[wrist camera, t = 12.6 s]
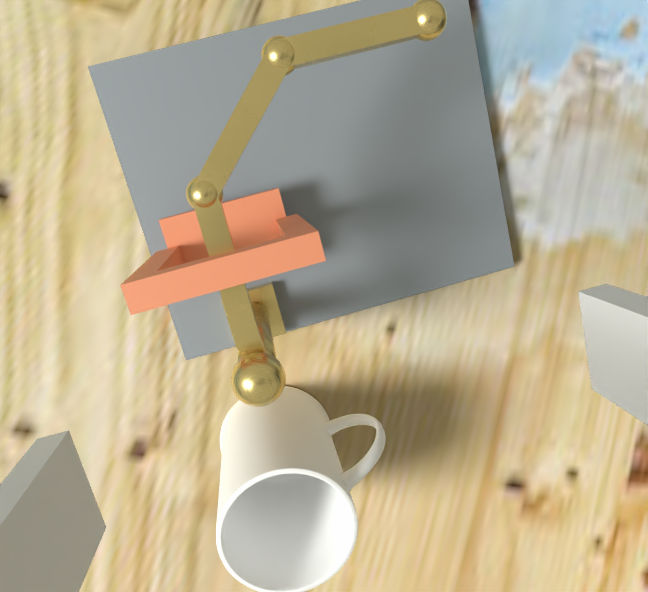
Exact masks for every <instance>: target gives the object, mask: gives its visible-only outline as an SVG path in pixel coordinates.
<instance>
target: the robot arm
mask: <svg viewBox="0 0 648 592" xmlns="http://www.w3.org/2000/svg"><path fill="white" fill-rule="evenodd" d="M578 293H579V301H580V308H581V315H582V322H583V329H584V337H585V344H586V351H587V358H588V366H589V373H590V380H591V387H592V390H594V391H595V392H597V393H599V394H600V395H602V396H603V397H605V398H606V399H608V400H609V401H611V402H612V403H614V404H616V405H617V406H619V407H620V408H622V409H623V410H625V411H626V412H628V413H629V414H631V415H633V416H634V417H636V418H637V419H639V420H640V421H642V422H643V423H645V424H647V425H648V297H646V296H643V295H640V294H636V293H633V292H630V291H627V290H624V289H621V288H618V287H615V286H611V285H608V284H604V285H600V286H597V287H593V288H589V289H586V290H582V291H578ZM105 528H106V526H105V523H104V520H103V518H102V515H101V513H100V510H99V507H98V505H97V502H96V500H95V497H94V494H93V492H92V489H91V487H90V484H89V481H88V479H87V476H86V474H85V471H84V468H83V466H82V463H81V461H80V458H79V455H78V453H77V450H76V448H75V445H74V443H73V440H72V437H71V435H70V432H69V431H65V432H61V433H58V434H54V435H50V436H47V437H43V438H39V439H37V440H36V441H35V443H34V444H33V445H32V446H31V447H30V449H29V450H28V451H27V452H26V454H25V455H24V456H23V457H22V458H21V460H20V461H19V462H18V463H17V465H16V466H15V467H14V468H13V469H12V471H11V472H10V473H9V474H8V476H7V477H6V478H5V479H4V480H3V482H2V483H1V484H0V592H79V590H80V588H81V585H82V583H83V581H84V578H85V576H86V574H87V571H88V569H89V566H90V564H91V562H92V559H93V557H94V555H95V552H96V550H97V547H98V545H99V543H100V540H101V538H102V536H103V533H104V531H105Z"/></svg>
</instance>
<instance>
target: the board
mask: <svg viewBox="0 0 648 592" xmlns="http://www.w3.org/2000/svg"><path fill="white" fill-rule="evenodd" d="M417 1H419V0H360V1H356V2H352V3H348V4H344V5H340V6H336V7H332V8H327V9H323V10H319V11H315V12H311V13H307V14H303V15H299V16H295V17H290V18H286V19H282V20H278V21H274V22H270V23H266V24H262V25H257V26H253V27H249V28H245V29H241V30H237V31H233V32H229V33H224V34H220V35H216V36H212V37H208V38H204V39H200V40H196V41H191V42H187V43H183V44H179V45H175V46H171V47H167V48H163V49H158V50H154V51H150V52H146V53H142V54H138V55H134V56H130V57H125V58H121V59H117V60H113V61H109V62H105V63H101V64H97V65H93V66H88V68H89V71H90V74H91V77H92V80H93V83H94V86H95V89H96V92H97V95H98V98H99V101H100V104H101V107H102V110H103V113H104V116H105V119H106V122H107V125H108V128H109V131H110V134H111V137H112V140H113V143H114V146H115V149H116V152H117V155H118V158H119V161H120V164H121V167H122V170H123V173H124V176H125V179H126V182H127V185H128V188H129V191H130V194H131V197H132V200H133V203H134V206H135V209H136V212H137V215H138V218H139V221H140V224H141V227H142V230H143V233H144V236H145V239H146V242H147V245H148V248H149V251H150V254H151V256H152V255H153V254H154V253H156V252H157V251H160V250H164V249H168V248H167V245H166V242H165V239H164V236H163V233H162V230H161V226H160V223H159V220H160V219H162V218H165V217H169V216H173V215H176V214H180V213H184V212H188V211H192V210H195V209H194V208H193V207H192V206H191V205H190V204H189V202H188V200H187V197H186V189H187V186H188V184H189V182H190V181H191V180H192V179H193V178H195V177H197V176H198V175H199V174H200V172H201V170H202V168H203V166H204V164H205V163H206V161H207V159H208V157H209V155H210V153H211V152H212V150H213V148H214V146H215V144H216V142H217V141H218V139H219V137H220V135H221V133H222V131H223V130H224V128H225V126H226V124H227V122H228V120H229V118H230V117H231V115H232V113H233V111H234V109H235V107H236V106H237V104H238V102H239V100H240V98H241V96H242V95H243V93H244V91H245V89H246V87H247V85H248V84H249V82H250V80H251V78H252V76H253V74H254V73H255V71H256V69H257V67H258V65H259V63H260V61H261V60H262V59H261V51H262V48H263V46H264V44H265V42H266V41H267V40H268V39H270V38H271V37H274V36H285V37H289V36H293V35H297V34H301V33H305V32H309V31H313V30H317V29H321V28H325V27H329V26H333V25H338V24H342V23H346V22H350V21H354V20H358V19H362V18H366V17H370V16H374V15H378V14H382V13H387V12H391V11H395V10H399V9H403V8H407V7H411V6H413V5H414V4H415V3H416V2H417ZM438 1H440V2H441V3H442V4H443V6H444V7H445V9H446V12H447V23H446V27H445V29H444V31H443V32H442V33H441V35H439V36H438V37H437V38H436V39H434V40H431V41H421V40H418V39H414V40H410V41H406V42H402V43H398V44H394V45H390V46H386V47H382V48H378V49H374V50H370V51H366V52H362V53H358V54H354V55H350V56H346V57H342V58H338V59H334V60H330V61H326V62H322V63H318V64H314V65H310V66H306V67H302V68H298V69H295V70H294V71H293V72H292V73H290V74H289V75H286V76H285V77H284V79H283V81H282V83H281V84H280V86H279V88H278V90H277V92H276V93H275V95H274V97H273V99H272V101H271V103H270V104H269V106H268V108H267V110H266V112H265V113H264V115H263V117H262V119H261V121H260V122H259V124H258V126H257V128H256V130H255V132H254V133H253V135H252V137H251V139H250V141H249V142H248V144H247V146H246V148H245V150H244V152H243V153H242V155H241V157H240V159H239V161H238V162H237V164H236V166H235V168H234V170H233V171H232V173H231V175H230V177H229V179H228V181H227V182H226V184H225V186H224V188H223V200H222V202H225V201H229V200H233V199H237V198H241V197H244V196H248V195H252V194H256V193H259V192H263V191H267V190H271V189H274V188H279V192H280V195H281V199H282V203H283V206H284V210H285V214H286V216H290V215H294V214H298V215H299V216H300V217H302V218H303V219H304V220H305V221H307V222H308V223H309V224H310V225H312V226H313V227H314V228H315V229H316V230H318V232H319V236H320V239H321V243H322V247H323V251H324V255H325V259H326V261H323V262H320V263H316V264H313V265H309V266H305V267H302V268H298V269H295V270H291V271H287V272H284V273H280V274H276V275H273V276H269V277H266V278H262V279H258V280H255V281H251V282H248V283H246V287H247V288H251V287H254V286H258V285H261V284H265V283H269V282H272V285H273V288H274V292H275V295H276V299H277V302H278V306H279V309H280V313H281V316H282V320H283V323H284V327H285V330H286V332H287V331H290V330H294V329H297V328H301V327H304V326H308V325H311V324H315V323H318V322H322V321H325V320H329V319H332V318H336V317H339V316H343V315H346V314H350V313H353V312H357V311H360V310H364V309H367V308H371V307H374V306H378V305H381V304H385V303H388V302H392V301H395V300H399V299H402V298H406V297H409V296H413V295H416V294H420V293H423V292H427V291H430V290H434V289H437V288H441V287H444V286H448V285H451V284H455V283H458V282H462V281H465V280H469V279H472V278H476V277H479V276H483V275H486V274H490V273H493V272H497V271H500V270H504V269H507V268H511V267H514V261H513V255H512V250H511V244H510V238H509V232H508V226H507V221H506V215H505V209H504V203H503V198H502V192H501V186H500V180H499V174H498V169H497V163H496V157H495V151H494V146H493V140H492V134H491V128H490V122H489V117H488V111H487V105H486V99H485V94H484V88H483V82H482V76H481V70H480V65H479V59H478V53H477V47H476V42H475V36H474V30H473V24H472V18H471V13H470V7H469V1H468V0H438ZM168 308H169V311H170V314H171V317H172V320H173V322H174V325H175V328H176V331H177V334H178V337H179V340H180V343H181V346H182V349H183V352H184V355H185V358H186V360H189V359H192V358H196V357H199V356H203V355H206V354H210V353H213V352H217V351H220V350H224V349H227V348H231V347H234V346H235V342H234V339H233V336H232V333H231V329H230V326H229V323H228V320H227V316H226V313H225V310H224V307H223V304H222V300H221V293H220V290H219V291H215V292H212V293H208V294H204V295H201V296H197V297H194V298H190V299H186V300H183V301H179V302H176V303H172V304H168Z"/></svg>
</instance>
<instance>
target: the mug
mask: <svg viewBox="0 0 648 592" xmlns="http://www.w3.org/2000/svg"><path fill="white" fill-rule="evenodd" d="M356 425H369V426H372V427H374V428H375V429H376V438H375V440H374V443H373V445H372V446H371V448H370V450H369V451H368V452H367V454H366V455H365V456H364V457H363V458H362V459H361V460H360V461H359V462H358V463H357V464H356V465H355V466H353V467H352V468H350V469H349V470H347V471H345V472H343V470H342V467H341V464H340V461H339V458H338V455H337V452H336V449H335V446H334V443H333V440H332V435H333V434H334V433H336V432H338V431H339V430H342V429H344V428H347V427H351V426H356ZM385 441H386V436H385V431H384V428H383V426H382V425H381V423H380V422H379V421H378V420H377V419H376V418H374V417H373V416H370V415H367V414H350V415H345V416H342V417H338V418H336V419H333V420H329V417H328V415H327V413H326V411H325V410H324V408H323V407H322V405H321V404H320V403H319V402H318V401H317V400H316V399H315V398H314V397H312V396H311V395H309V394H308V393H306V392H304V391H302V390H300V389H297V388H294V387H289V386H285V387H284V390H283V392H282V394H281V395H280V396H279V398H278V399H277V400H275V401H274V402H273V403H271V404H269V405H266V406H263V407H253V406H249V405H247V404H245V403H243V402H242V401H241V400H239V401H237V402H236V403H235V404H234V405H233V407H232V408H231V409H230V410H229V412H228V414H227V415H226V417H225V419H224V422H223V424H222V428H221V432H220V448H221V453H222V461H221V474H220V487H219V500H218V513H217V526H216V543H217V549H218V552H219V555H220V558H221V560H222V562H223V564H224V566H225V567H226V569H227V570H228V571H229V572H230V573H231V575H232V576H233V577H235V578H236V579H237V580H238V581H239V582H241V583H242V584H244V585H246V586H247V587H249V588H252V589H254V590H257V591H260V592H303V591H307V590H310V589H312V588H314V587H317V586H319V585H320V584H322V583H324V582H325V581H327V580H328V579H330V578H331V577H332V576H334V575H335V574H336V573H337V572H338V571H339V570H340V569H341V568H342V566H343V565H344V564H345V563H346V561H347V560H348V558H349V556H350V555H351V553H352V551H353V548H354V546H355V542H356V538H357V532H358V520H357V514H356V510H355V506H354V503H353V500H352V497H351V494H350V491H351V489H352V488H353V487H354V486H355V485H356V484H357V483H358V482H359V481H360V480H361V479H363V478H364V477H365V476H366V475H367V474H368V473H369V471H370V470H371V469H372V468H373V467H374V465H375V464H376V463H377V461H378V460H379V458H380V456H381V454H382V452H383V450H384V446H385Z"/></svg>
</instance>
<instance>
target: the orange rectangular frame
mask: <svg viewBox="0 0 648 592" xmlns="http://www.w3.org/2000/svg"><path fill="white" fill-rule="evenodd" d="M222 206H223V209H224V212H225V216H226V219H227V223H228V226H229V229H230V233H231V236H232V239H233V243H234V246H235V250H232V251H228V252H225V253H221V254H217V255H214V256H210V257H209V254H208V251H207V248H206V245H205V242H204V238H203V235H202V232H201V229H200V225H199V222H198V219H197V216H196V212H195V210H192V211H188V212H184V213H180V214H176V215H173V216H169V217H165V218H162V219H160V220H159V223H160V226H161V230H162V233H163V236H164V239H165V242H166V245H167V248H168V249H164V250H160V251H157V252H156V253H154V254H153V255H152V256H151V257H150V258H149V259H148V260H147V261H146V262H145V263H144V264H143V265H142V266H140V267H139V268H138V269H137V270H136V271H135V272H134V273H133V274H132V275H131V276H130V277H129V278H128V279H126V280H125V281H124V282H123V283H122V284H121V288H122V291H123V294H124V296H125V299H126V302H127V305H128V308H129V311H130V313H131V315H132V314H136V313H140V312H143V311H147V310H150V309H154V308H158V307H161V306H165V305H168V304H172V303H176V302H179V301H183V300H186V299H190V298H194V297H197V296H201V295H204V294H208V293H212V292H215V291H219V290H222V289H226V288H230V287H233V286H237V285H240V284H244V283H248V282H251V281H255V280H258V279H262V278H266V277H269V276H273V275H276V274H280V273H284V272H287V271H291V270H295V269H298V268H302V267H305V266H309V265H313V264H316V263H320V262H323V261H326V259H325V255H324V251H323V247H322V243H321V239H320V236H319V232H318V230H316V229H315V228H314V227H313V226H312V225H310V224H309V223H308V222H307V221H305V220H304V219H303V218H302V217H300V216H299V215H298V214H294V215H290V216H286V214H285V210H284V206H283V203H282V199H281V195H280V192H279V188H274V189H271V190H267V191H263V192H259V193H256V194H252V195H248V196H244V197H241V198H237V199H233V200H229V201H225V202H222Z"/></svg>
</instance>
